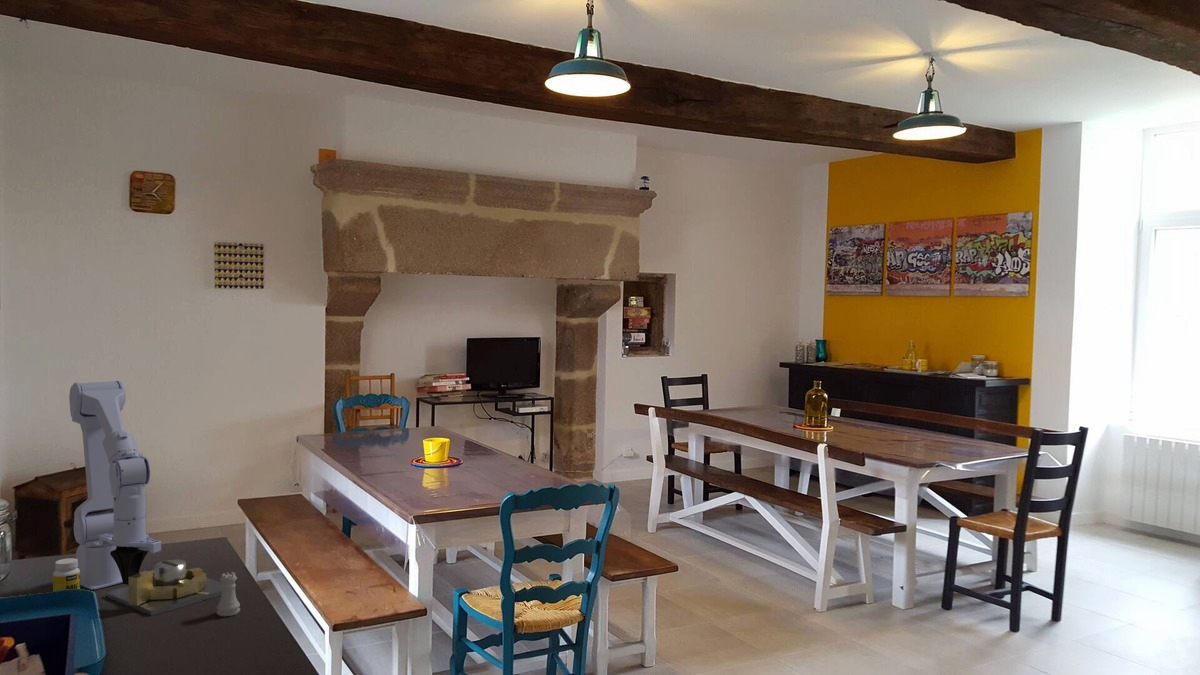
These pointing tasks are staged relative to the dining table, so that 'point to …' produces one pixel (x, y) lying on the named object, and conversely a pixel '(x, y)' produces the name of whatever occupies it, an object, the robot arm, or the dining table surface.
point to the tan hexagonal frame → (146, 590)
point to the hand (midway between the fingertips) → (129, 583)
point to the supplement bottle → (66, 574)
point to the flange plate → (167, 602)
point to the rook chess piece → (228, 596)
